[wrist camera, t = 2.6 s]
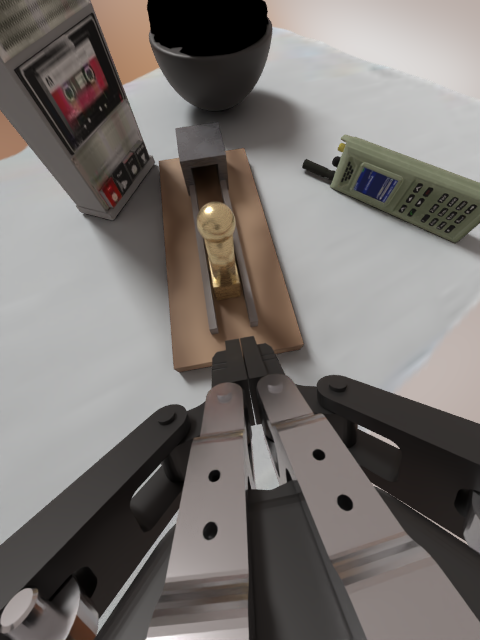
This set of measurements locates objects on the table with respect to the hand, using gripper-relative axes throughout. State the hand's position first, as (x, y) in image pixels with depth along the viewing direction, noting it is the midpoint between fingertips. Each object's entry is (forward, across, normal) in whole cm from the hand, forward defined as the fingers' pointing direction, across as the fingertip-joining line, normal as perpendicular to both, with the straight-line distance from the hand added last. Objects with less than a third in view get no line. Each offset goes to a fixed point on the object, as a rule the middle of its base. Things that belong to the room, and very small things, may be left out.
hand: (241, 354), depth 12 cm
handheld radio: (+27, -24, -6) cm, 37 cm away
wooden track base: (+24, 0, -4) cm, 25 cm away
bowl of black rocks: (+49, -5, -29) cm, 57 cm away
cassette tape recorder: (+35, +14, -14) cm, 40 cm away
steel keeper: (+31, 0, -14) cm, 34 cm away
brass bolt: (+18, 0, -1) cm, 18 cm away
